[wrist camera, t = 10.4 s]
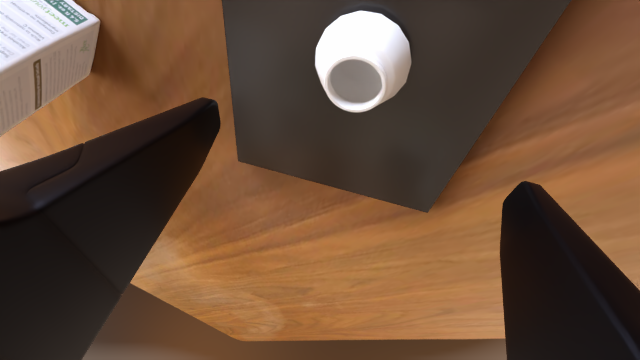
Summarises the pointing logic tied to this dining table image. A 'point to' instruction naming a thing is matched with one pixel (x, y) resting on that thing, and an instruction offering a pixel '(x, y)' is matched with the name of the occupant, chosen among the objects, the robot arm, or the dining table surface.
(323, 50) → the lidless jar
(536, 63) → the dining table surface
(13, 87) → the syrup box
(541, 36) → the serving board
